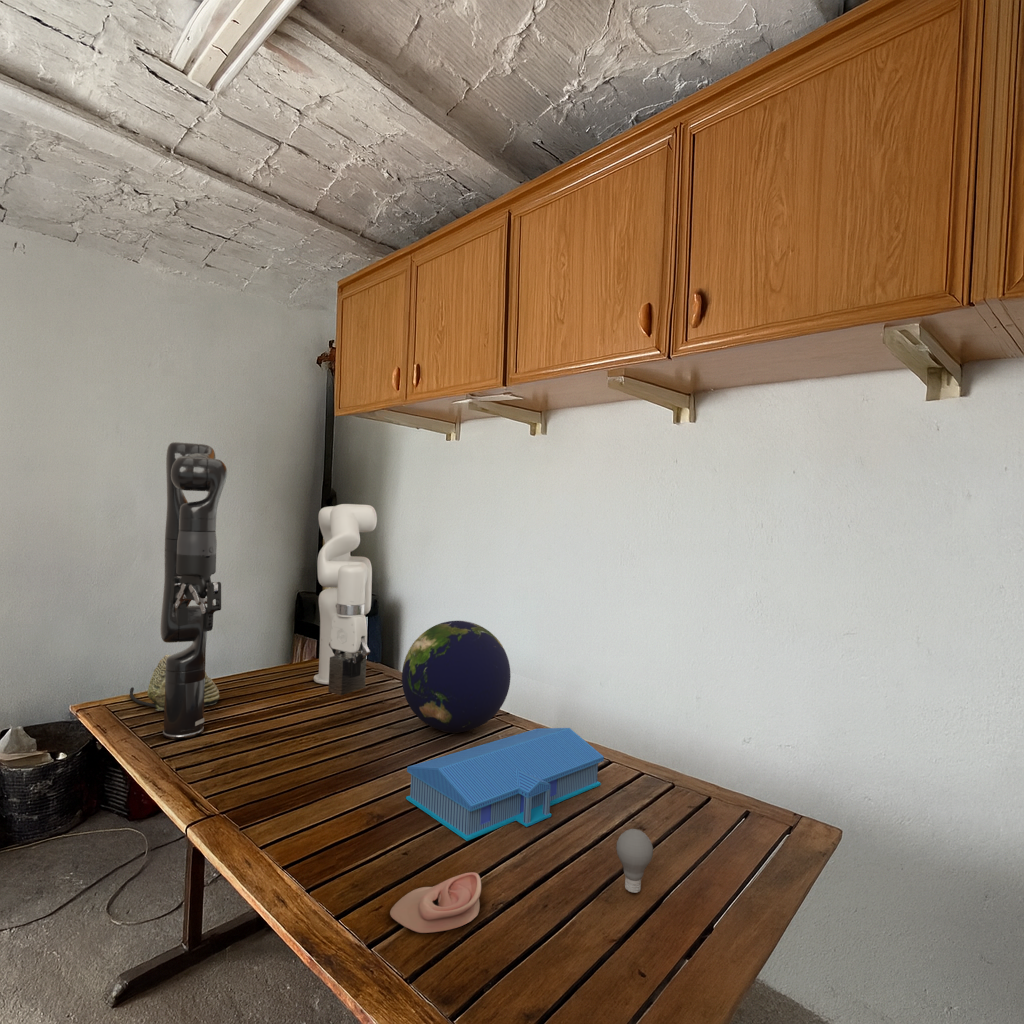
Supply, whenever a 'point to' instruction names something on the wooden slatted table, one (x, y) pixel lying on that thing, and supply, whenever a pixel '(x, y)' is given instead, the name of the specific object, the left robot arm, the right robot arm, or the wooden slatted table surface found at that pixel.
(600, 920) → the wooden slatted table surface
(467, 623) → the globe
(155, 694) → the fossil
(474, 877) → the anatomical model
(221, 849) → the wooden slatted table surface
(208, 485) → the left robot arm
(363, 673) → the block
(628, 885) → the light bulb
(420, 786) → the model building
